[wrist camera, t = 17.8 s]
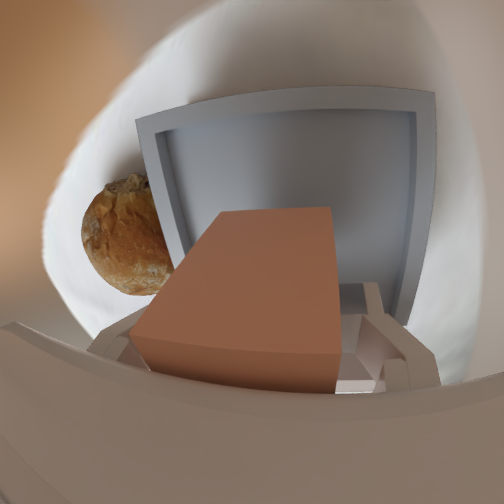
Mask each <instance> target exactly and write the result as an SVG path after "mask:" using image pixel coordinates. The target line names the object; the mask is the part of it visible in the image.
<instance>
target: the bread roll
mask: <svg viewBox="0 0 504 504" xmlns="http://www.w3.org/2000/svg"><path fill="white" fill-rule="evenodd" d="M81 237H82V242H83V247H84V250H85V252H86V254H87V256H88V258H89V260H90V262H91V263H92V265H93V267H94V268H95V270H96V271H97V273H98V274H99V275H100V276H101V277H102V278H103V279H104V280H105V281H106V282H108V283H109V284H110V285H112V286H113V287H115V288H116V289H118V290H119V291H121V292H123V293H126V294H129V295H141V296H146V295H152V294H157V293H158V292H159V290H160V289H161V288H162V286H163V285H164V284H165V282H166V281H167V280H168V278H169V277H170V276H171V274H172V273H173V272H174V270H175V269H174V266H173V263H172V260H171V257H170V254H169V251H168V247H167V244H166V241H165V238H164V234H163V231H162V228H161V224H160V221H159V217H158V214H157V210H156V206H155V203H154V199H153V195H152V192H151V188H150V184H149V180H148V177H142V176H141V175H138V174H136V173H133V174H130V175H129V177H128V179H127V180H119V181H117V182H116V181H114V182H113V183H110V184H106V185H105V188H104V189H103V191H101V192H100V193H99V194H98V195H96V196H95V198H94V199H93V201H92V202H91V204H90V205H89V207H88V209H87V211H86V212H85V215H84V218H83V222H82V229H81Z"/></svg>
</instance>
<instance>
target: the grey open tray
mask: <svg viewBox="0 0 504 504" xmlns="http://www.w3.org/2000/svg"><path fill="white" fill-rule="evenodd" d="M135 122H136V127H137V132H138V137H139V141H140V146H141V150H142V155H143V159H144V163H145V168H146V172H147V176H148V180H149V184H150V188H151V192H152V195H153V199H154V203H155V206H156V210H157V214H158V217H159V221H160V224H161V228H162V231H163V234H164V238H165V241H166V244H167V247H168V251H169V254H170V257H171V260H172V263H173V266H174V269H176V268H177V266H178V265H179V264H180V263H181V261H182V260H183V259H184V257H185V256H186V255H187V253H188V252H189V251H190V250H191V248H192V247H193V246H194V244H195V243H196V242H197V241H198V239H199V238H200V237H201V236H202V234H203V233H204V232H205V231H206V229H207V228H208V227H209V226H210V224H211V223H212V222H213V221H214V219H215V218H216V217H217V216H218V214H219V213H220V212H223V211H239V210H256V209H277V208H303V207H331V214H332V222H333V230H334V239H335V248H336V259H337V270H338V282H339V283H364V282H376V283H377V284H378V288H379V292H380V297H381V301H382V305H383V310H384V314H389V315H390V316H391V317H393V318H394V319H395V320H396V321H397V322H398V323H399V324H401V325H402V326H407V323H408V320H409V316H410V313H411V310H412V306H413V303H414V299H415V295H416V292H417V288H418V284H419V280H420V275H421V271H422V266H423V262H424V257H425V252H426V246H427V241H428V235H429V228H430V222H431V214H432V206H433V197H434V186H435V171H436V108H435V94H434V92H427V91H420V90H412V89H403V88H392V87H377V86H311V87H295V88H283V89H274V90H265V91H257V92H250V93H243V94H237V95H231V96H226V97H220V98H215V99H210V100H206V101H201V102H197V103H192V104H188V105H184V106H180V107H176V108H172V109H169V110H165V111H162V112H158V113H155V114H152V115H148V116H145V117H142V118H139V119H136V120H135ZM375 385H376V382H375V381H374V379H373V378H372V377H371V375H370V374H369V372H368V371H367V370H366V368H365V367H364V365H363V364H362V363H361V361H360V360H359V358H358V357H357V356H356V353H342V355H341V361H340V367H339V373H338V379H337V384H336V390H335V392H366V391H373V390H374V388H375Z"/></svg>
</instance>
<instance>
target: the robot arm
mask: <svg viewBox="0 0 504 504" xmlns="http://www.w3.org/2000/svg"><path fill="white" fill-rule="evenodd" d="M339 297H340V315H341V345H342V353H356V356H357V357H358V358H359V360H360V361H361V363H362V364H363V365H364V367H365V368H366V370H367V371H368V372H369V374H370V375H371V377H372V378H373V379H374V381H375V382H376V385H375V388H374V390H373V393H357V394H314V393H291V392H277V391H265V390H256V389H247V388H239V387H232V386H225V385H218V384H212V383H206V382H201V381H195V380H190V379H185V378H180V377H176V376H171V375H167V374H162V373H158V372H154V371H150V370H149V369H150V368H149V367H148V365H147V364H146V362H145V360H144V359H143V357H142V356H141V354H140V352H139V351H138V349H137V347H136V346H135V344H134V342H133V341H132V339H131V337H130V336H129V332H130V331H131V329H132V328H133V327H134V325H135V324H136V322H137V321H138V319H139V318H140V317H141V315H142V314H143V312H144V311H145V310H146V308H147V307H148V306H149V305H147V306H145V307H143V308H142V309H140V310H138V311H136V312H134V313H132V314H131V315H129V316H127V317H125V318H123V319H122V320H120V321H118V322H116V323H114V324H113V325H111V326H109V327H107V328H105V329H104V330H102V331H101V332H100V333H99V334H98V336H97V337H96V338H95V340H94V341H93V342H92V344H91V345H90V346H89V348H88V349H87V350H86V351H84V350H81V349H79V348H76V347H74V346H71V345H69V344H66V343H64V342H61V341H59V340H56V339H54V338H51V337H49V336H46V335H44V334H42V333H40V332H38V331H35V330H33V329H31V328H29V327H27V326H25V325H23V324H21V323H19V322H16V321H14V322H11V323H8V324H6V325H3V326H1V327H0V504H504V372H502V373H498V374H494V375H491V376H487V377H482V378H478V379H474V380H469V381H464V382H459V383H454V384H448V385H443V386H441V382H440V377H439V373H438V369H437V364H436V360H435V357H434V354H433V353H432V352H431V351H430V350H429V349H427V348H426V347H425V346H424V345H423V344H422V343H421V342H420V341H419V340H417V339H416V338H415V337H414V336H413V335H412V334H411V333H410V332H408V331H407V330H406V329H405V328H404V327H403V326H402V325H401V324H399V323H398V322H397V321H396V320H395V319H394V318H393V317H391V316H390V315H389V314H384V310H383V305H382V301H381V297H380V292H379V288H378V284H377V283H376V282H364V283H339Z"/></svg>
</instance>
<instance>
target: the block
mask: <svg viewBox="0 0 504 504" xmlns="http://www.w3.org/2000/svg"><path fill="white" fill-rule="evenodd" d="M129 336H130V337H131V339H132V341H133V342H134V344H135V346H136V347H137V349H138V351H139V352H140V354H141V356H142V357H143V359H144V360H145V362H146V364H147V365H148V367H149V368H150V370H151V371H154V372H158V373H162V374H167V375H171V376H176V377H180V378H185V379H190V380H195V381H201V382H206V383H212V384H218V385H225V386H232V387H239V388H247V389H256V390H265V391H277V392H291V393H314V394H335V390H336V384H337V379H338V373H339V367H340V361H341V355H342V345H341V315H340V297H339V282H338V270H337V259H336V248H335V239H334V230H333V222H332V214H331V207H303V208H277V209H256V210H239V211H223V212H220V213H219V214H218V216H217V217H216V218H215V219H214V221H213V222H212V223H211V224H210V226H209V227H208V228H207V229H206V231H205V232H204V233H203V234H202V236H201V237H200V238H199V239H198V241H197V242H196V243H195V244H194V246H193V247H192V248H191V250H190V251H189V252H188V253H187V255H186V256H185V257H184V259H183V260H182V261H181V263H180V264H179V265H178V266H177V268H176V269H175V270H174V272H173V273H172V274H171V276H170V277H169V278H168V280H167V281H166V282H165V284H164V285H163V286H162V288H161V289H160V290H159V292H158V293H157V295H156V296H155V297H154V299H153V300H152V301H151V303H150V304H149V306H148V307H147V308H146V310H145V311H144V312H143V314H142V315H141V317H140V318H139V319H138V321H137V322H136V324H135V325H134V327H133V328H132V329H131V331H130V332H129Z"/></svg>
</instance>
